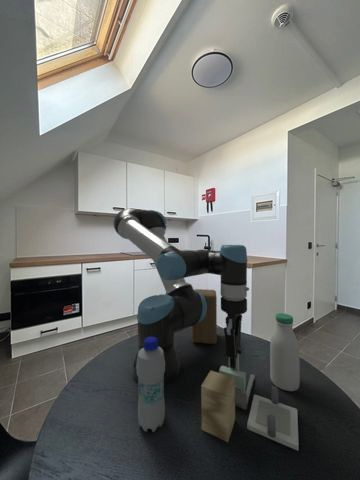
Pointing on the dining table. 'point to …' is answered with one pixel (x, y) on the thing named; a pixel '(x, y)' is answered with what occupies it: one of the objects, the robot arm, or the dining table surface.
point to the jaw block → (218, 405)
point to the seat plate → (279, 435)
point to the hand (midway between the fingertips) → (233, 376)
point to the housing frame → (243, 394)
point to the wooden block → (207, 320)
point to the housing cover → (235, 376)
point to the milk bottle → (284, 354)
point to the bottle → (151, 385)
